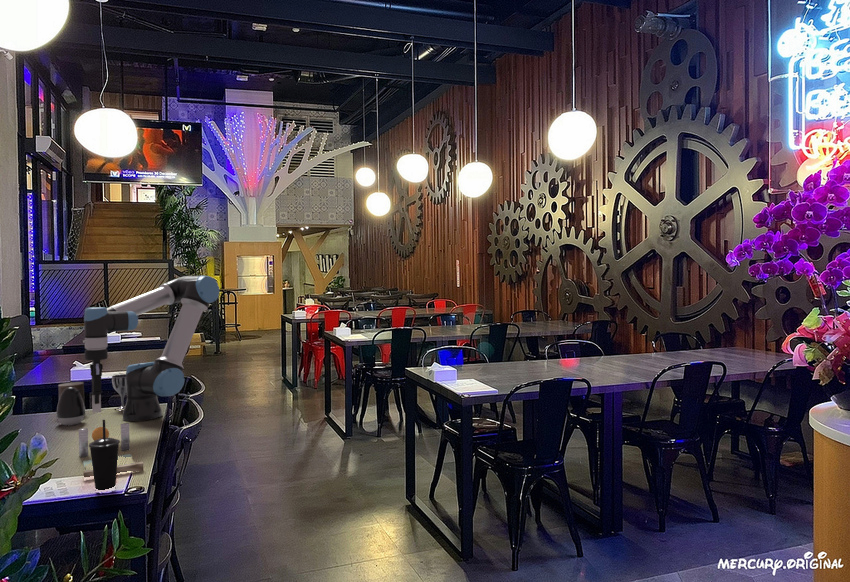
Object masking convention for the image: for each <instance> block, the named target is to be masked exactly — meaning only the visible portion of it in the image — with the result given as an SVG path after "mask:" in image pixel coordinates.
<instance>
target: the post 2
mask: <svg viewBox="0 0 850 582" xmlns="http://www.w3.org/2000/svg"><path fill="white" fill-rule="evenodd" d="M130 439H131V438H130V423H129V422H128V423H127V422H123V423H121V424H120V445H121V449H120V451H121V450H122V452H126V451H125V450H128V451H130V450H131V444H130V442H131V441H130ZM129 449H130V450H129Z"/></svg>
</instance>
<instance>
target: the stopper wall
mask: <svg viewBox="0 0 850 582" xmlns="http://www.w3.org/2000/svg"><path fill="white" fill-rule="evenodd" d="M127 471H133V472H136V471H143V472H144V462H143V461H138V462H135V463H131V464H124V465H118V466H117V473H120V472H127ZM82 472H83V475H82V477H83V476H84V477H90V476H94V474H93V470H86V471H85V470H83V471H82Z"/></svg>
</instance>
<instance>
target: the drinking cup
mask: <svg viewBox="0 0 850 582" xmlns="http://www.w3.org/2000/svg"><path fill="white" fill-rule="evenodd" d="M102 427H103V438H101V439H98V440H95V441H94V440H93V441H91V442H89V443H88V448H89V449H90V456H91V457H90V458H91V459H90V460H92V466H93V474H94V480H93V483H94V488H96V489H98V490H105V489H109V488H112V487H114V486H115V485H117V476H116V474H117V460H118V456H119V445H120V444H121V440H119V439H117V438H113V437H108V438H106V431H105V428H106V419H102Z"/></svg>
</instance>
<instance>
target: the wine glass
mask: <svg viewBox="0 0 850 582" xmlns="http://www.w3.org/2000/svg"><path fill="white" fill-rule="evenodd" d="M111 383H112V387H113V389H114V390H115V392H117V393H118V394H119V396H120V401H121V402H120V403H121V405H120V406H119V407H116V408H117V409H124V408H125V404H124V402H125V401H124V400H125V399H124V398H125V395H126V394H127V383H126V373H123V374H115V375H112V376H111Z"/></svg>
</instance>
